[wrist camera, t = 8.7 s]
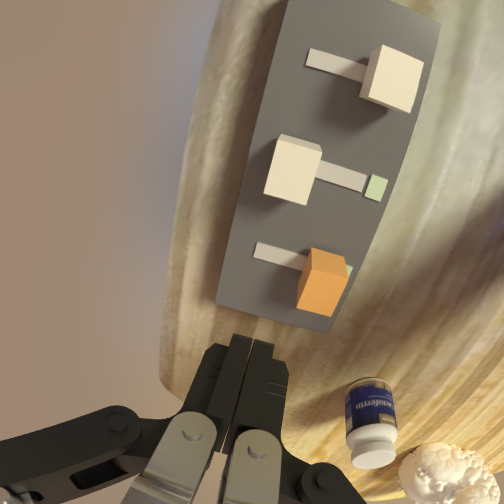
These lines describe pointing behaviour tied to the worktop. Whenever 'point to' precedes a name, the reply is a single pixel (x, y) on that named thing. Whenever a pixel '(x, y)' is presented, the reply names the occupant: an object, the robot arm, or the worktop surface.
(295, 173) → the switch
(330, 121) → the slider control box
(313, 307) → the switch
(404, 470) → the white plaster sculpture
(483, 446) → the worktop surface
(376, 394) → the pill bottle
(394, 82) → the switch
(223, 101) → the worktop surface
